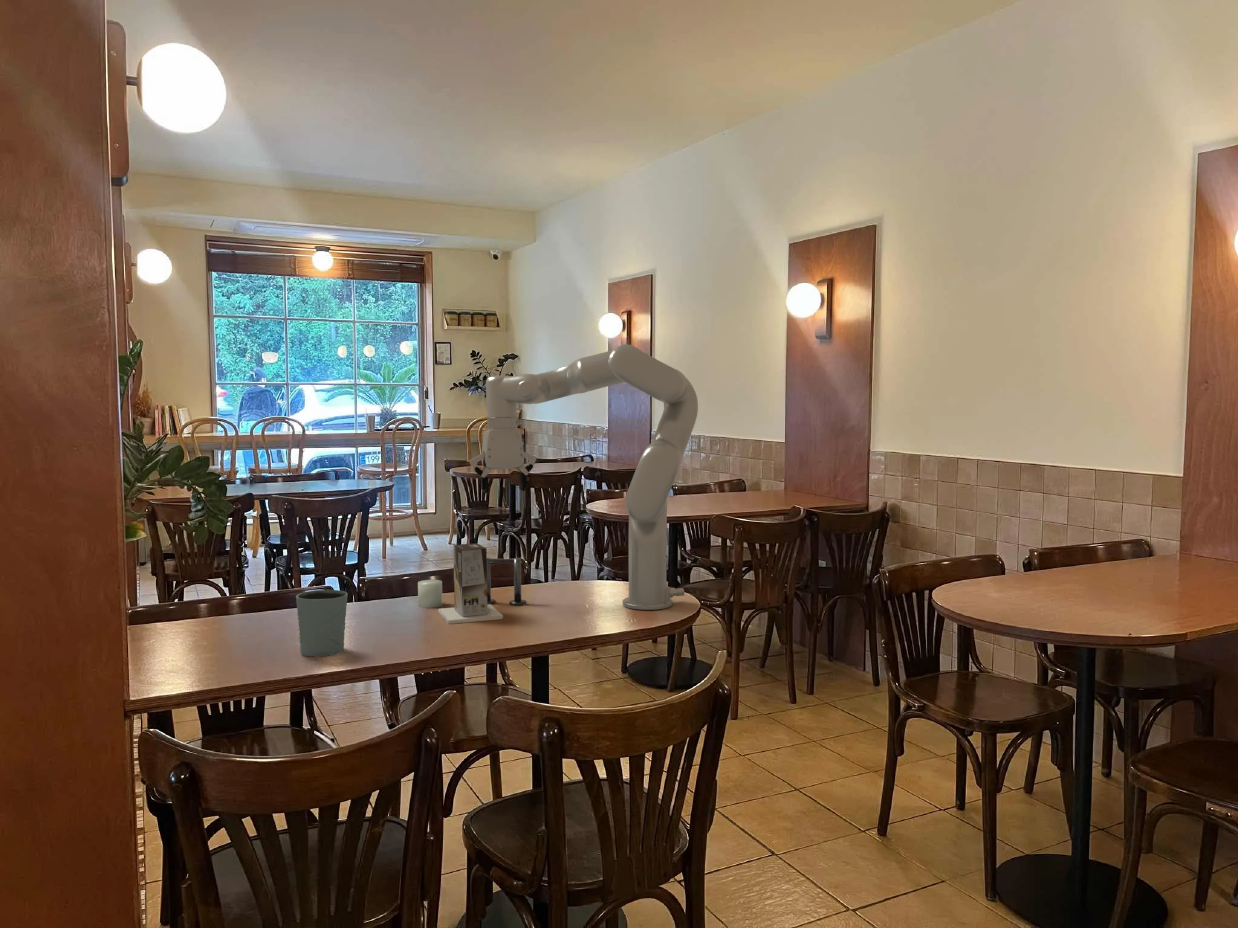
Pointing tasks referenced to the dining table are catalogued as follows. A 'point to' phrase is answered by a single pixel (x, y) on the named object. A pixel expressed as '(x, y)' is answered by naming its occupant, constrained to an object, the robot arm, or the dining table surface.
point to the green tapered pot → (321, 621)
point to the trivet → (455, 617)
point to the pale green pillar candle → (430, 593)
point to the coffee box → (470, 579)
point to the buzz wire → (517, 581)
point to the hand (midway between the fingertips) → (504, 491)
